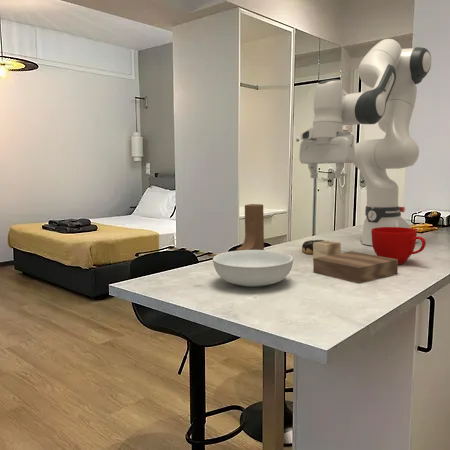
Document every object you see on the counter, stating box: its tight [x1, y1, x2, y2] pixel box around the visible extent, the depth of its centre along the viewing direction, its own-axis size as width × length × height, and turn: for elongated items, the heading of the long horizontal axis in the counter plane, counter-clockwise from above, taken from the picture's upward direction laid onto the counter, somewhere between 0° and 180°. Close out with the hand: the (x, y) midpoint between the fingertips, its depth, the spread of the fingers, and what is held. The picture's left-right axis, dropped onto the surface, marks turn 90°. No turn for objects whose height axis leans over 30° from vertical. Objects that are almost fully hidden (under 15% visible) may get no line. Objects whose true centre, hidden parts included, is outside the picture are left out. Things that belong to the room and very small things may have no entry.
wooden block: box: [236, 203, 265, 251], centre depth 144 cm, size 9×4×18 cm, turn 138°
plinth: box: [312, 251, 399, 284], centre depth 125 cm, size 16×16×4 cm
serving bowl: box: [212, 249, 294, 288], centre depth 117 cm, size 21×21×7 cm
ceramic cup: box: [371, 227, 427, 265], centre depth 136 cm, size 13×17×10 cm
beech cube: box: [312, 239, 342, 259], centre depth 141 cm, size 6×6×6 cm
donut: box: [301, 239, 326, 256], centre depth 156 cm, size 11×12×4 cm
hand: (324, 178), depth 140 cm, fingers open, 8 cm apart
